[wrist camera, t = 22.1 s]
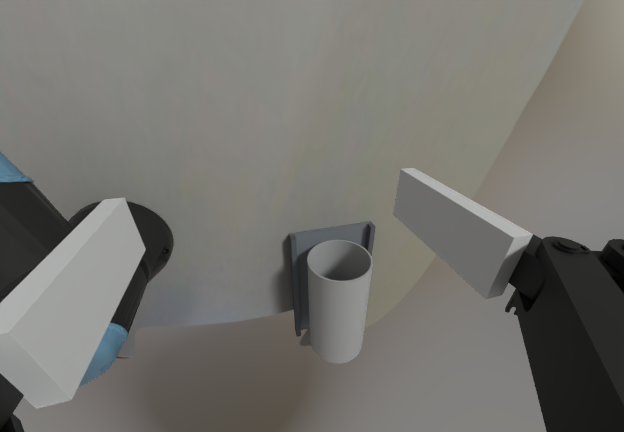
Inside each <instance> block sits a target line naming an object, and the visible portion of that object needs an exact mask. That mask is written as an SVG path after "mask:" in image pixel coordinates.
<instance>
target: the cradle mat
mask: <svg viewBox="0 0 624 432" xmlns="http://www.w3.org/2000/svg"><path fill="white" fill-rule="evenodd" d="M374 234H375V226H374V225H373V223H372V222H364V223H358V224H351V225H344V226H338V227H331V228H324V229H318V230H311V231H304V232H297V233H291V234H289V239H290V254H291V270H292V286H293V302H294V316H295V330H296V334H297V336H300V335H301V332H300V331H301V330H303V329H307V328H310V326H309V295H308V265H307V257H308V254H309V252H310V251H311V249H312V248H313V247H315V246H316V245H318V244H320V243H322V242H325V241H330V240H346V241H350V242H354V243H356V244H359V245H361V246H362V247H364V248H365V249H366V250H367V251H368V252H369V253H370V255H371V256H372V248H373V241H374Z"/></svg>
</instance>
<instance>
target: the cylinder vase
mask: <svg viewBox="0 0 624 432" xmlns="http://www.w3.org/2000/svg"><path fill="white" fill-rule="evenodd" d="M307 265H308V295H309V326H310V343H311V346H312V348H313V350H314V351H315V353H316V354H317V355H318V356H319V357H320V358H321V359H323V360H325V361H327V362H330V363H336V364H340V363H345V362H348V361H350V360H352V359H353V358H355V357H356V356H357V355H358V353H359V352H360V349H361V347H362V341H363V334H364V326H365V319H366V311H367V304H368V296H369V289H370V281H371V274H372V266H373V260H372V257H371V255H370V253H369V252H368V251H367V250H366V249H365V248H364V247H362V246H361V245H359V244H356V243H354V242H350V241H346V240H330V241H325V242H322V243H320V244H318V245H316V246H315V247H313V248H312V249H311V251H310V252H309V254H308V257H307Z"/></svg>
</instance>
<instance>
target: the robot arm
mask: <svg viewBox="0 0 624 432" xmlns="http://www.w3.org/2000/svg"><path fill="white" fill-rule="evenodd" d="M32 182H34V181H33V180H32V179H31V178H29V177H26V176H25V175H24V174H23V173H22V172H21V171H20V170H19V169H18V168H17V167H16V166H15V165H13V164H12V163H11V162H10V161H9V160H8V159H7V158H6V157H5V156H4V155H3V154H2V153H1V152H0V432H24V430H23V427H22V424H21V421H20V420H19V419H18V418H17V417H16V416H15V415H13V411H14V410H15V409H16V407H17V405H18V404H19V402H20V401H21V399H22V398H23V397H24V398H25V399H27V400H28V402H30V403H31V404H32V405H33V406H34V407H35V408H41V407H45V406H49V405H53V404H58V403H62V402H66V401H69V400H72V398H73V396H74V394H75V392H76V390H77V388H78V386H81V385H83V384H85V383H88V382H90V381H92V380H94V379H95V378H97V377H99V376H100V375H102V374H103V373H104V372H105V371H106V370H107V369H108V368H109V367H110V366H111V365H112V363H113V362H114V360H115V359H116V357H117V355H118V353H119V351H120V349H121V346H122V345H123V344H124V343H125V341H126V339H127V336H128V333H129V330H130V327H131V325H132V322H133V320H134V317H135V314H136V312H137V309H138V306H139V304H140V301H141V299H142V296H143V293H144V291H145V288H146V285H147V283H148V282H149V281H150V280H151V279H152V278H153V277H154V276H155V275H157V274H158V273H159V272H160V271H161V270H162V269H163V268H164V266H165V265H166V264H167V262H168V260H169V258H170V256H171V253H172V250H173V236H172V233H171V230H170V228H169V227H168V225H167V224H166V223H165V221H164V220H163V219H162V218H161V217H160V216H158V215H157V214H156V213H154V212H153V211H151V210H149V209H147V208H145V207H143V206H141V205H138V204H135V203H131V202H126V200H125V198H115V199H105V200H103V201H101V202H97V203H93V204H90V205H88V206H86V207H84V208H83V209H81V210H80V211H78V212H77V213H76V214H75V215H74V216H73V217H72V218H71V219H70V220H69V221H67V220H66V219H65V218H64V217H63V216H62V215H61V214H60V213H59V211H58V210H57V209H56V208H55V207H54V206H53V205H52V204H51V203H50V202H49V200H48V199H47V198H46V197H45V196H44V195H43V194H42V193H41V192H40V190H39V189H38V188H37V187H36V186H35V185H34V184H33V183H32ZM393 215H395V216H396V217H397V218H398V219H399V220H400V221H401V222H402V223H403V224H404V225H405V226H407V227H408V228H409V229H410V230H411V231H412V232H413V233H414V234H415V235H416V236H417V237H418V238H420V239H421V240H422V241H423V242H424V243H425V244H426V245H427V246H428V247H429V248H430V249H431V250H433V251H434V252H435V253H436V254H437V255H438V256H439V257H440V258H441V259H442V260H443V261H445V262H446V263H447V264H448V265H449V266H450V267H451V268H452V269H453V270H454V271H455V272H456V273H458V274H459V275H460V276H461V277H462V278H463V279H464V280H465V281H466V282H467V283H468V284H469V285H471V286H472V287H473V288H474V289H475V290H476V291H477V292H478V293H479V294H480V295H481V296H482V297H484V298H485V299H488V298H492V297H496V296H500V295H502V294H503V292H504V290H505V288H506V286H507V284H508V283H510V284H511V285H513V286H514V287H515V288H516V289H515V291H514V293H513V295H512V297H511V299H510V301H509V302H508V304H507V306H506V309H505V312H509V311H510V309H511V308H512V307H516V310H515V312H514V314H515V315H517V316H518V320H519V323H520V328H521V332H522V335H523V339H524V343H525V347H526V351H527V355H528V359H529V363H530V367H531V371H532V375H533V379H534V382H535V387H536V391H537V395H538V399H539V403H540V406H541V411H542V415H543V419H544V423H545V427H546V431H547V432H624V240H622V239H613V240H610V241H608V243H607V244H606V246H605V247H604V249H603V250H602V251H591V250H589V249H588V248H587V247H586V246H583V245H581V244H579V243H576V242H574V241H572V240H569V239H565V238H561V237H545V238H544V239H541V238H539V237H537V236H535V235H533V234H531V233H530V232H528V231H526V230H524V229H523V228H521V227H519V226H517V225H515V224H514V223H512V222H510V221H508V220H506V219H504V218H503V217H501V216H499V215H497V214H496V213H494V212H492V211H490V210H488V209H487V208H485V207H483V206H481V205H479V204H478V203H476V202H474V201H472V200H470V199H469V198H467V197H465V196H463V195H461V194H460V193H458V192H456V191H454V190H452V189H451V188H449V187H447V186H445V185H443V184H442V183H440V182H438V181H436V180H434V179H433V178H431V177H429V176H427V175H425V174H424V173H422V172H420V171H418V170H416V169H415V168H407V169H401V171H400V176H399V182H398V188H397V194H396V199H395V205H394V211H393Z"/></svg>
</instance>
